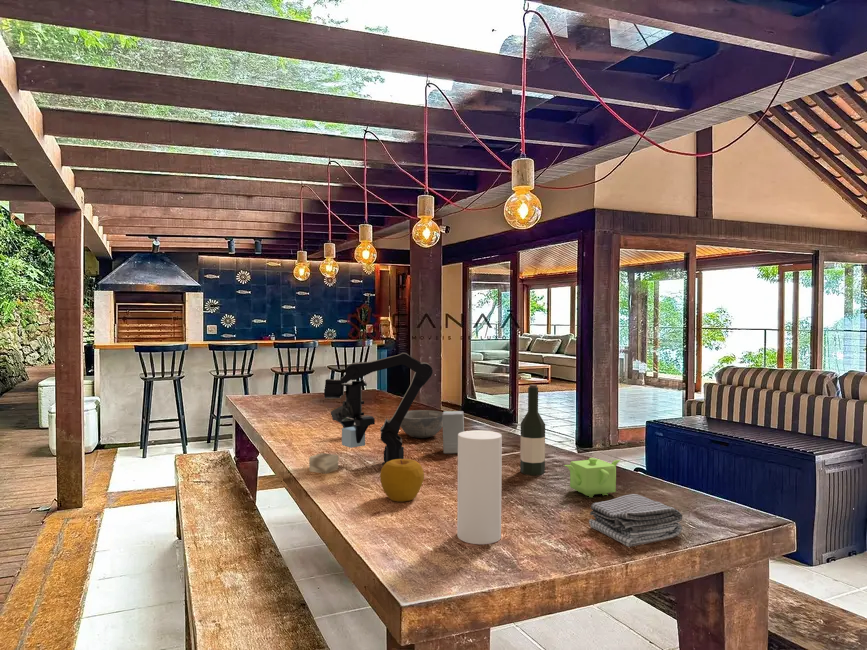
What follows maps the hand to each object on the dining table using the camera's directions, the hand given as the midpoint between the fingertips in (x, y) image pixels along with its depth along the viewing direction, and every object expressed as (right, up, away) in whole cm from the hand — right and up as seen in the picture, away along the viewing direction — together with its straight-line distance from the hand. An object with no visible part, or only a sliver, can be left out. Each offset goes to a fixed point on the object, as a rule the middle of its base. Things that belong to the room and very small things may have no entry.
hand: (353, 441), depth 213 cm
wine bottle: (+63, -9, -9) cm, 64 cm away
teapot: (+77, -10, -32) cm, 84 cm away
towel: (+79, -11, -64) cm, 102 cm away
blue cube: (0, -1, 0) cm, 1 cm away
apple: (+20, -9, -38) cm, 44 cm away
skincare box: (+37, -8, +20) cm, 42 cm away
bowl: (+23, -8, +49) cm, 55 cm away
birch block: (-9, -9, -8) cm, 15 cm away
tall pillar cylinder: (+40, -10, -67) cm, 79 cm away
